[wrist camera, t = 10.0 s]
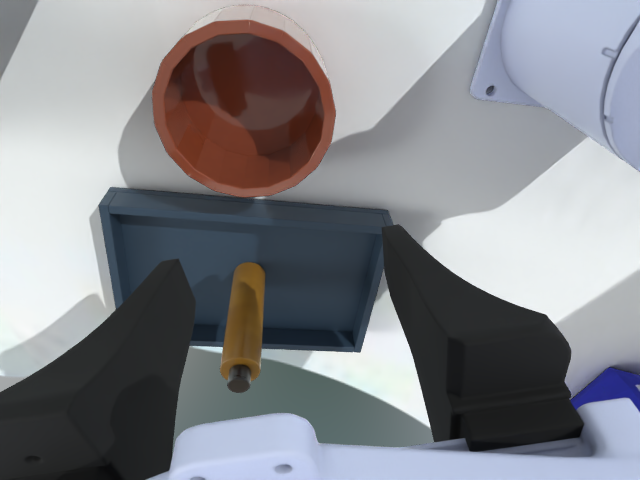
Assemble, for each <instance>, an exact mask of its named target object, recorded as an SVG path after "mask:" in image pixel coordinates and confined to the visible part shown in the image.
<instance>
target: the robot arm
mask: <svg viewBox="0 0 640 480" xmlns="http://www.w3.org/2000/svg"><path fill="white" fill-rule="evenodd" d="M490 86H494V87H493V91H492V92H491V93H489V94H486V90H487V88H488V87H490ZM470 93H471V95H472V96H473V97H474V98H476V99H479V100H488V101H496V102H504V103H513V104H521V105H529V106H537V107H546V108H548V109H549V110H550V111H552V112H553V113H555V114H556V115H558V116H559V117H561V118H562V119H564V120H565V121H567V122H568V123H569V124H571V125H572V126H574V127H575V128H577V129H578V130H580V131H581V132H583V133H584V134H585V135H587V136H588V137H590V138H591V139H593V140H594V141H596V142H597V143H599V144H600V145H601V146H603V147H604V148H606V149H607V150H609V151H610V152H612V153H613V154H615V155H616V156H618V157H619V158H620V159H622V160H624V161H625V162H626V163H628V164H629V165H631V166H632V167H634V168H635V169H636V170H638V171H639V172H640V0H498V2H497V5H496V8H495V11H494V14H493V17H492V21H491V24H490V27H489V30H488V33H487V36H486V39H485V42H484V45H483V49H482V52H481V55H480V58H479V61H478V64H477V67H476V70H475V74H474V77H473V80H472V83H471V86H470ZM382 241H383V255H384V270H385V276H386V280H387V284H388V288H389V292H390V296H391V299H392V302H393V304H394V307H395V310H396V312H397V315H398V318H399V320H400V323H401V325H402V328H403V331H404V333H405V336H406V339H407V341H408V344H409V346H410V349H411V352H412V356H413V359H414V363H415V367H416V370H417V374H418V378H419V382H420V386H421V390H422V394H423V398H424V402H425V406H426V410H427V414H428V418H429V422H430V426H431V430H432V435H433V439H434V442H433V443H426V444H419V445H413V446H406V447H399V448H396V447H378V446H360V445H342V444H324V443H318V441H317V439H316V435H315V431H314V428H313V427H312V426H311V424H310V423H309V422H308V421H307V420H306V419H305V418H302V417H300V416H297V415H294V414H292V413H273V414H266V415H259V416H252V417H245V418H238V419H232V420H224V421H217V422H211V423H204V424H199V425H197V426H193V427H190V428H187V429H185V430H184V431H183V432H182V433H181V434H180V435H179V436H178V437H177V439H176V442H175V446H174V451H173V456H172V449H173V436H174V427H175V416H176V409H177V401H178V392H179V387H180V382H181V377H182V373H183V369H184V365H185V361H186V357H187V353H188V349H189V345H190V341H191V336H192V332H193V327H194V320H195V308H196V300H195V297H194V295H193V292H192V290H191V287H190V285H189V283H188V280H187V278H186V275H185V273H184V270H183V268H182V265H181V263H180V261H179V258H178V259H171V260H165V261H161V262H160V263H159V264H158V265H157V266H156V267H155V268H154V270H153V271H152V272H151V273H150V274H149V275H148V276H147V277H146V279H145V280H144V281H143V282H142V283H141V284H140V285H139V286H138V287H137V289H136V290H135V291H134V292H133V293H132V294H131V295H130V296H129V297H128V298H127V299H126V300H125V301H124V302H123V303H122V304H121V305H120V306H119V307H118V308H117V309H116V310H115V311H114V312H113V313H112V314H111V315H110V316H109V317H108V318H107V319H106V320H105V321H104V322H103V323H102V324H101V325H100V326H99V327H97V328H96V329H95V330H94V331H93V332H92V333H90V334H89V335H88V336H87V337H86V338H84V339H83V340H82V341H81V342H79V343H78V344H76V345H75V346H74V347H72V348H71V349H70V350H68V351H67V352H66V353H64V354H63V355H61V356H60V357H59V358H57V359H56V360H54V361H53V362H51V363H50V364H48V365H47V366H45V367H44V368H42V369H40V370H39V371H37V372H35V373H34V374H32V375H31V376H29V377H27V378H26V379H24V380H22V381H20V382H18V383H16V384H15V385H13V386H11V387H9V388H7V389H6V390H4V391H2V392H0V480H640V412H639V411H638V409H637V408H636V406H635V405H634V404H633V402H632V401H631V400H630V399H629V398H619V399H612V400H605V401H598V402H591V403H587V404H584V405H582V406H580V407H579V408H578V409H577V410H575V408H574V406H573V405H572V403H571V401H570V400H569V398H570V397H571V393H570V390H569V389H568V387H567V386H566V384H565V382H564V380H565V377H566V373H567V370H568V366H569V363H570V359H571V349H570V346H569V344H568V342H567V341H566V339H565V338H564V336H563V335H562V333H561V332H560V331H559V330H558V328H557V327H556V326H555V325H554V324H553V322H552V321H551V320H550V319H549V318H548V317H547V315H545V314H542V313H539V312H535V311H532V310H529V309H526V308H523V307H520V306H517V305H515V304H512V303H510V302H507V301H505V300H502V299H500V298H498V297H495V296H493V295H491V294H489V293H487V292H485V291H483V290H481V289H479V288H477V287H475V286H474V285H472V284H470V283H468V282H467V281H465V280H463V279H462V278H460V277H459V276H457V275H456V274H454V273H453V272H451V271H450V270H449V269H447V268H446V267H445V266H443V265H442V264H441V263H440V262H438V261H437V260H436V259H435V258H433V257H432V256H431V255H430V254H429V253H428V252H427V251H426V250H424V249H423V248H422V247H421V246H420V245H419V244H418V243H417V242H416V241H415V240H414V239H413V238H412V237H411V236H410V235H409V234H408V233H407V232H406V231H405V229H404V228H403V227H402V226H400V225H399V224H398V225H392V226H385V227H382Z"/></svg>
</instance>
